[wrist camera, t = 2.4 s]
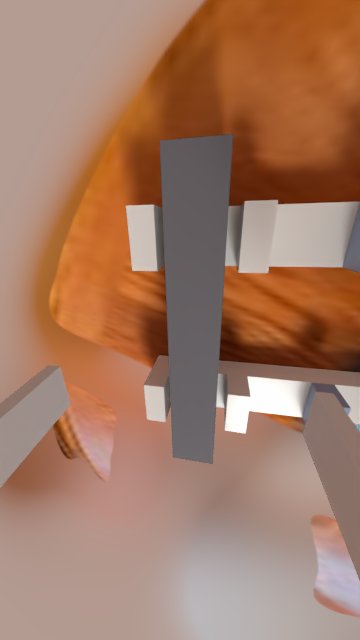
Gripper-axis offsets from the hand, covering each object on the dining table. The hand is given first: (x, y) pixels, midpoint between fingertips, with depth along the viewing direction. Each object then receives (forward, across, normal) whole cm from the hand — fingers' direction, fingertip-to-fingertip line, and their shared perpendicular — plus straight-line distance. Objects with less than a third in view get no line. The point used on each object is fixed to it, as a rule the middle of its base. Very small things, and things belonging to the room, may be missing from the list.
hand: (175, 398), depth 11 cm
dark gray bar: (+10, 0, 0) cm, 10 cm away
